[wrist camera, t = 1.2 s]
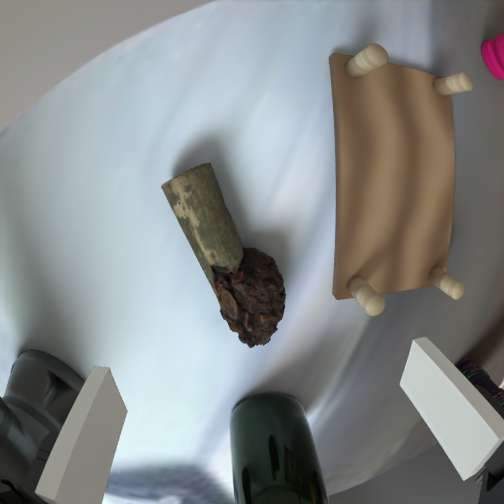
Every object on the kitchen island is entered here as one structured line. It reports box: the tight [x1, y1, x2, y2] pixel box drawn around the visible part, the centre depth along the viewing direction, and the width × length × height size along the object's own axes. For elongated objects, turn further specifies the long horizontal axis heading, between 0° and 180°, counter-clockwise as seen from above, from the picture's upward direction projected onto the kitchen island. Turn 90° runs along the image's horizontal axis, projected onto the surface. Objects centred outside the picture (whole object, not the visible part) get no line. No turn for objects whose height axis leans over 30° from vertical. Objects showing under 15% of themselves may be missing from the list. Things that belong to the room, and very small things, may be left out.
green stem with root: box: [161, 163, 286, 348], centre depth 26 cm, size 18×7×6 cm, turn 22°
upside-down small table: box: [329, 44, 473, 316], centre depth 24 cm, size 15×25×6 cm, turn 2°
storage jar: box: [454, 358, 504, 408], centre depth 30 cm, size 10×10×18 cm
